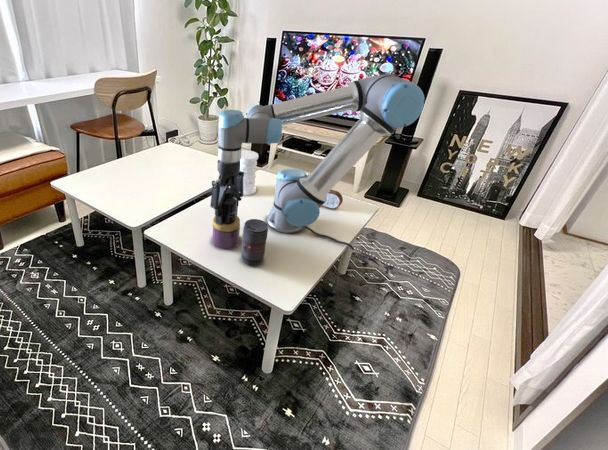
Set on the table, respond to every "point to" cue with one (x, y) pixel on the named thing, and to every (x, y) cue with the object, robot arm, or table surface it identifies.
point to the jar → (226, 238)
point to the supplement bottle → (229, 207)
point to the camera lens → (254, 241)
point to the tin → (333, 200)
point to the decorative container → (248, 171)
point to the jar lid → (227, 225)
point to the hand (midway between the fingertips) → (226, 219)
